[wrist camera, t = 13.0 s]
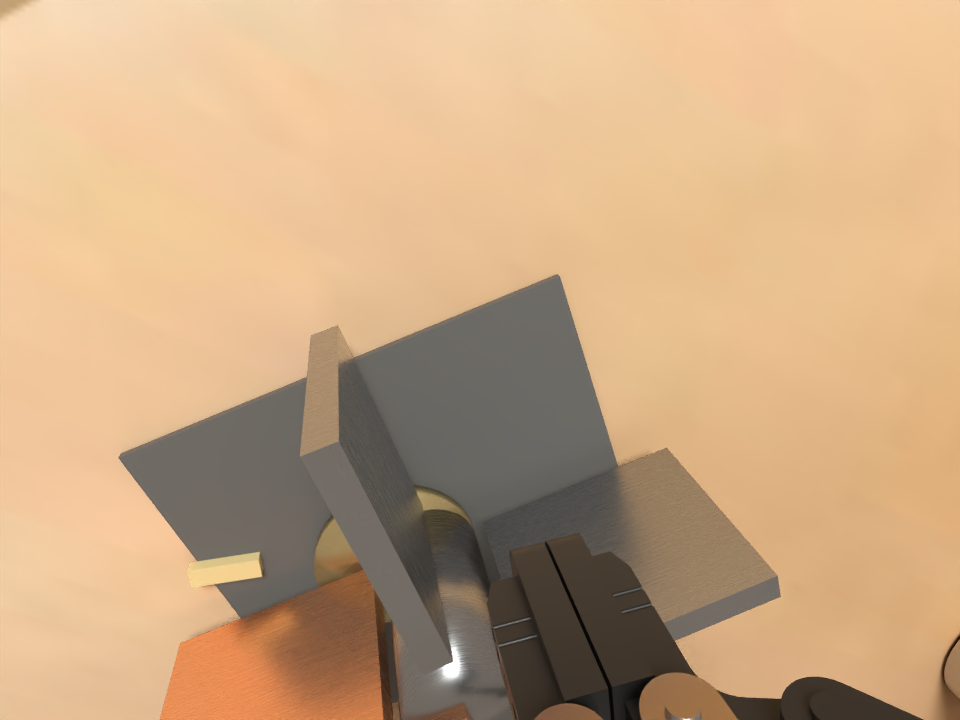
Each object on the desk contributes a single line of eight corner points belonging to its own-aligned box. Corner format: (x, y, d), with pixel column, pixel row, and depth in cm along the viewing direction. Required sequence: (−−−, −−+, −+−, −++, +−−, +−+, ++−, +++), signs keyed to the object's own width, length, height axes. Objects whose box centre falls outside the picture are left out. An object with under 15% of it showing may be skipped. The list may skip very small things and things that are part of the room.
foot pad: (652, 585, 33) (659, 596, 32) (316, 730, 33) (316, 744, 32) (557, 274, 25) (563, 280, 24) (106, 459, 24) (99, 471, 24)
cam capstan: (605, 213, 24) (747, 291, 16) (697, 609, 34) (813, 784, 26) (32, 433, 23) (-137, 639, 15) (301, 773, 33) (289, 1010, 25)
